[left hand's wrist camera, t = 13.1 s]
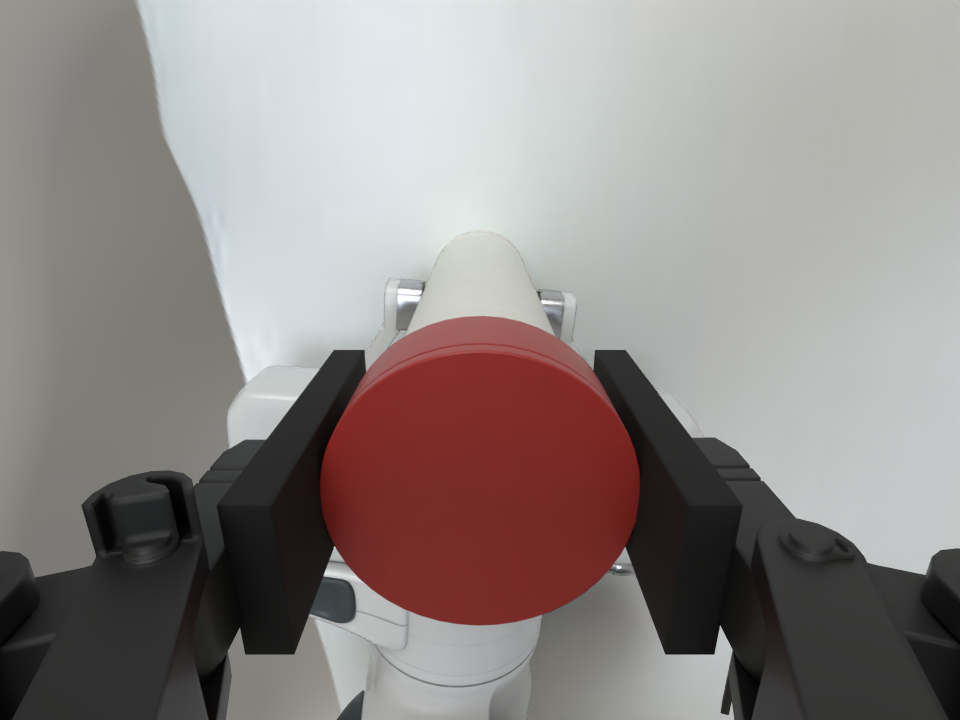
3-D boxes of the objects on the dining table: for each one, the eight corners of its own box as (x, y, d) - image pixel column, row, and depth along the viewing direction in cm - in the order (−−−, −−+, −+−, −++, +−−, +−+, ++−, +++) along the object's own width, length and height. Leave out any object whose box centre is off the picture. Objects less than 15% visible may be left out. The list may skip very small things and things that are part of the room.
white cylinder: (415, 284, 29) (303, 505, 10) (472, 210, 28) (458, 314, 9) (486, 338, 30) (497, 627, 11) (544, 270, 29) (661, 471, 10)
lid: (295, 461, 12) (257, 523, 10) (457, 255, 11) (451, 279, 9) (498, 592, 13) (501, 670, 11) (669, 425, 12) (709, 480, 10)
